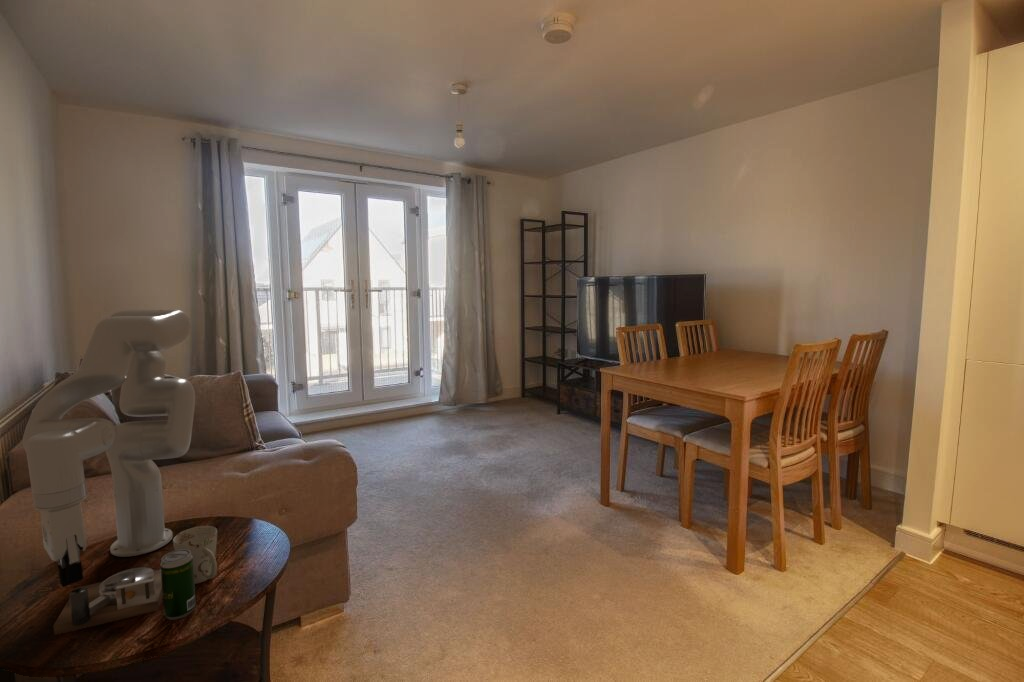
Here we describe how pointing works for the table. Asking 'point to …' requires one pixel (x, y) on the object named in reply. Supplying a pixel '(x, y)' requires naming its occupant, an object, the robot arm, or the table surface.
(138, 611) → the levelling stand
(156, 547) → the robot arm
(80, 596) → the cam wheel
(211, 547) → the mug
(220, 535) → the table surface
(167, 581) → the beer can
